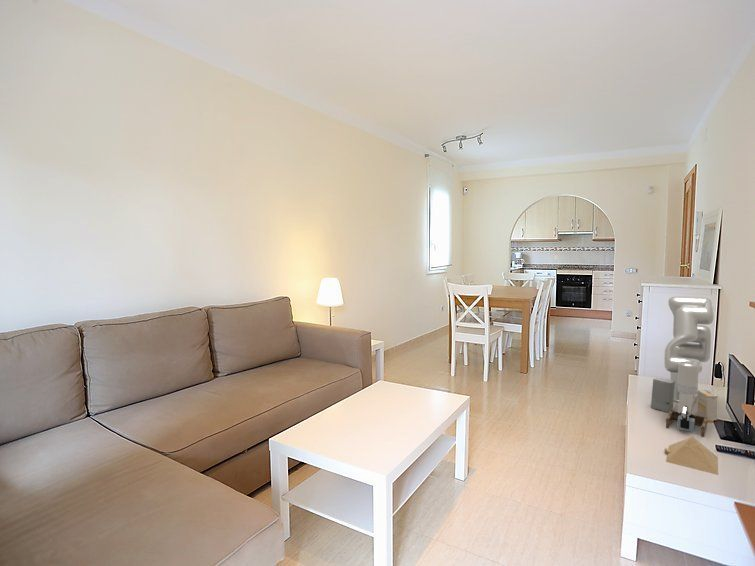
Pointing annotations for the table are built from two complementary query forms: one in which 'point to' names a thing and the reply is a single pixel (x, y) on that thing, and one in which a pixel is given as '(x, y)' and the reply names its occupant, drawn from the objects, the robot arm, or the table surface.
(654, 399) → the skincare box
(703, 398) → the supplement box
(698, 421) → the walnut open-sided box
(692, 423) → the grey block
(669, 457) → the model pyramid
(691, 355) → the robot arm
